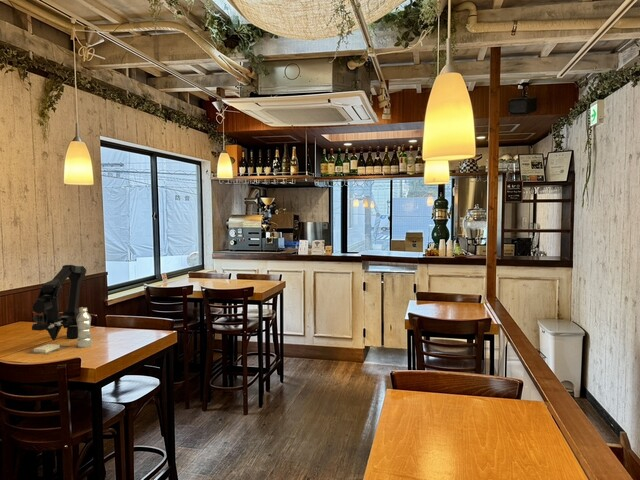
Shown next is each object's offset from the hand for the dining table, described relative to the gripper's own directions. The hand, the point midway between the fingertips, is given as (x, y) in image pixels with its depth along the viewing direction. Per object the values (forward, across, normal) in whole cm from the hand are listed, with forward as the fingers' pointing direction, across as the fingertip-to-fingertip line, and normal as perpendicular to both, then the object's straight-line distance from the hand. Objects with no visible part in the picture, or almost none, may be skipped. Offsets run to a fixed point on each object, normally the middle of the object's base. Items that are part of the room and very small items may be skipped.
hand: (53, 340), depth 213 cm
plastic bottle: (+5, -5, +14) cm, 15 cm away
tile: (+3, 0, 0) cm, 3 cm away
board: (+4, +3, 0) cm, 6 cm away
